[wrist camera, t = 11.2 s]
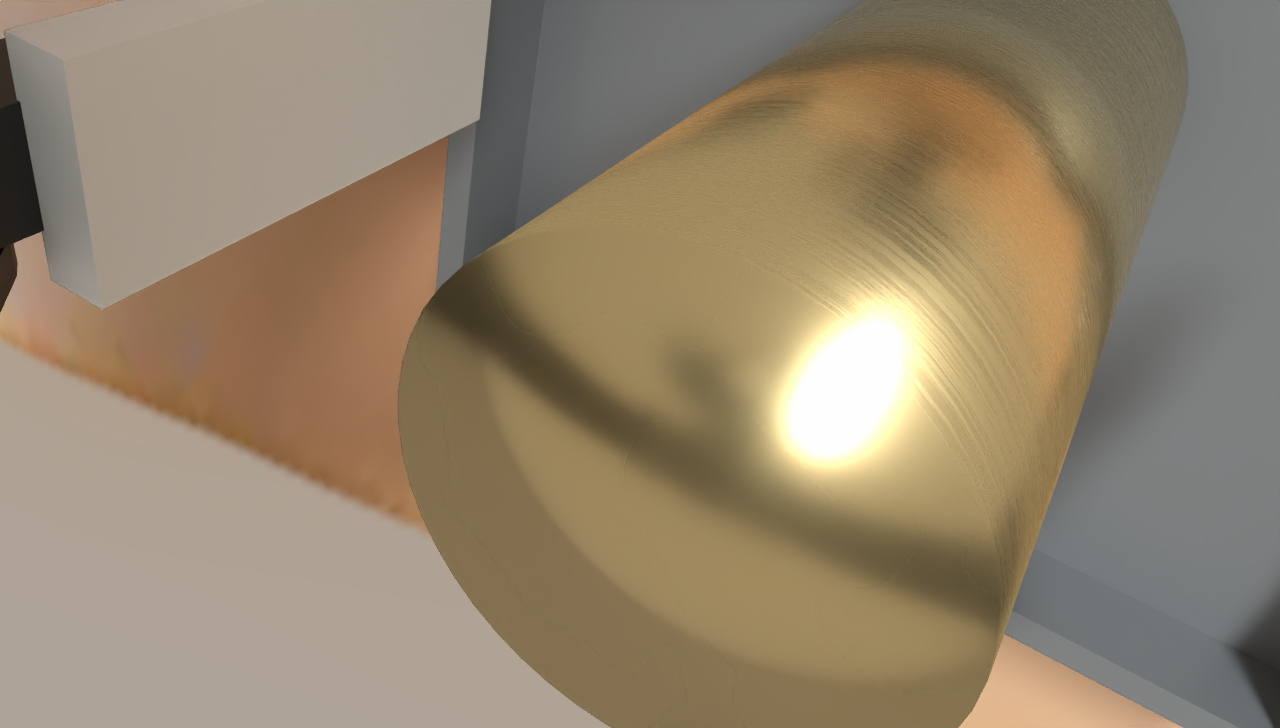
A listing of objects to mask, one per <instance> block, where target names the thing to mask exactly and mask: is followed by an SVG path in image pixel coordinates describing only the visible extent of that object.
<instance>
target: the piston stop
mask: <svg viewBox="0 0 1280 728" xmlns="http://www.w3.org/2000/svg"><path fill="white" fill-rule="evenodd" d="M1187 93H1188V62H1187V55H1186V48H1185V43H1184V40H1183V36H1182V33H1181V30H1180V27H1179V23H1178V21H1177V19H1176V17H1175V15H1174V13H1173V11H1172V9H1171V7H1170V5H1169V2H1168V1H1167V0H864V1H862V2H861V3H859V4H858V5H856V6H855V7H853V8H852V9H850V10H849V11H847V12H846V13H844V14H843V15H841V16H840V17H838V18H837V19H835V20H834V21H832V22H831V23H829V24H828V25H826V26H825V27H823V28H822V29H820V30H819V31H817V32H816V33H814V34H813V35H811V36H810V37H808V38H807V39H805V40H804V41H802V42H800V43H799V44H797V45H796V46H794V47H793V48H791V49H790V50H788V51H787V52H785V53H784V54H782V55H781V56H779V57H778V58H776V59H775V60H773V61H772V62H770V63H769V64H767V65H766V66H764V67H763V68H761V69H760V70H758V71H757V72H755V73H754V74H752V75H751V76H749V77H748V78H746V79H745V80H743V81H742V82H740V83H738V84H737V85H735V86H734V87H732V88H731V89H729V90H728V91H726V92H725V93H723V94H722V95H720V96H719V97H717V98H716V99H714V100H713V101H711V102H710V103H708V104H707V105H705V106H704V107H702V108H701V109H699V110H698V111H696V112H695V113H693V114H692V115H690V116H689V117H687V118H686V119H684V120H683V121H681V122H680V123H678V124H677V125H675V126H673V127H672V128H670V129H669V130H667V131H666V132H664V133H663V134H661V135H660V136H658V137H657V138H655V139H654V140H652V141H651V142H649V143H648V144H646V145H645V146H643V147H642V148H640V149H639V150H637V151H636V152H634V153H633V154H631V155H630V156H628V157H627V158H625V159H624V160H622V161H621V162H619V163H618V164H616V165H615V166H613V167H612V168H610V169H608V170H607V171H605V172H604V173H602V174H601V175H599V176H598V177H596V178H595V179H593V180H592V181H590V182H589V183H587V184H586V185H584V186H583V187H581V188H580V189H578V190H577V191H575V192H574V193H572V194H571V195H569V196H568V197H566V198H565V199H563V200H562V201H560V202H559V203H557V204H556V205H554V206H553V207H551V208H550V209H548V210H546V211H545V212H543V213H542V214H540V215H539V216H537V217H536V218H534V219H533V220H531V221H530V222H528V223H527V224H525V225H524V226H522V227H521V228H519V229H518V230H516V231H515V232H513V233H512V234H510V235H509V236H507V237H506V238H504V239H503V240H501V241H500V242H498V243H497V244H495V245H494V246H492V247H491V248H489V249H488V250H486V251H485V252H483V253H481V254H480V255H478V256H477V257H475V258H474V259H472V260H471V261H469V262H468V263H466V264H465V265H463V266H462V267H461V268H460V269H459V270H458V271H457V272H456V273H455V274H453V275H452V276H451V277H450V278H449V279H448V280H447V281H446V282H445V283H444V284H442V285H441V286H440V288H439V289H438V290H437V292H436V293H435V294H434V296H433V297H432V298H431V300H430V301H429V302H428V304H427V305H426V306H425V308H424V309H423V311H422V313H421V315H420V317H419V319H418V321H417V323H416V325H415V327H414V329H413V331H412V333H411V335H410V338H409V341H408V345H407V348H406V352H405V355H404V358H403V362H402V367H401V375H400V382H399V390H398V424H399V432H400V439H401V446H402V454H403V458H404V462H405V466H406V470H407V474H408V477H409V481H410V485H411V488H412V491H413V494H414V496H415V499H416V502H417V504H418V507H419V510H420V513H421V515H422V518H423V520H424V522H425V524H426V526H427V528H428V530H429V532H430V534H431V537H432V539H433V541H434V543H435V545H436V547H437V549H438V550H439V552H440V554H441V555H442V557H443V559H444V561H445V562H446V564H447V566H448V567H449V569H450V571H451V572H452V574H453V576H454V577H455V579H456V580H457V581H458V583H459V584H460V586H461V587H462V589H463V590H464V591H465V593H466V594H467V596H468V597H469V599H470V600H471V601H472V603H473V604H474V606H475V607H476V608H477V609H478V610H479V612H480V613H481V614H482V615H483V617H485V619H486V620H487V621H488V623H489V624H490V625H491V626H492V627H493V629H494V630H495V631H496V632H497V633H498V634H499V635H500V636H501V637H502V639H503V640H505V642H506V643H507V644H508V645H509V646H510V647H511V648H512V649H513V650H514V651H515V652H516V653H517V654H518V655H519V656H520V657H521V658H522V659H523V660H524V661H525V662H526V663H527V664H528V665H529V666H531V667H532V668H533V669H534V670H535V671H536V672H537V673H538V674H539V675H541V676H542V677H543V678H544V679H545V680H546V681H547V682H548V683H550V684H551V685H552V686H553V687H555V688H556V689H557V690H558V691H560V692H561V693H562V694H564V695H565V696H566V697H567V698H569V699H570V700H571V701H572V702H574V703H575V704H576V705H578V706H579V707H581V708H582V709H584V710H585V711H587V712H588V713H590V714H591V715H593V716H594V717H596V718H597V719H599V720H600V721H602V722H603V723H605V724H606V725H608V726H610V727H611V728H958V727H959V726H960V725H961V724H962V722H963V721H964V720H965V719H966V717H967V716H968V715H969V714H970V712H971V711H972V710H973V708H974V706H975V704H976V702H977V700H978V698H979V696H980V694H981V692H982V690H983V688H984V687H985V685H986V683H987V681H988V678H989V675H990V672H991V669H992V667H993V664H994V661H995V658H996V655H997V652H998V649H999V646H1000V644H1001V641H1002V638H1003V635H1004V632H1005V629H1006V626H1007V623H1008V621H1009V618H1010V615H1011V612H1012V609H1013V606H1014V603H1015V600H1016V598H1017V595H1018V592H1019V589H1020V586H1021V583H1022V580H1023V577H1024V575H1025V572H1026V569H1027V566H1028V563H1029V560H1030V557H1031V554H1032V552H1033V549H1034V546H1035V543H1036V540H1037V537H1038V534H1039V531H1040V529H1041V526H1042V523H1043V520H1044V517H1045V514H1046V511H1047V508H1048V506H1049V503H1050V500H1051V497H1052V494H1053V491H1054V488H1055V485H1056V483H1057V480H1058V477H1059V474H1060V471H1061V468H1062V465H1063V462H1064V460H1065V457H1066V454H1067V451H1068V448H1069V445H1070V442H1071V439H1072V436H1073V434H1074V431H1075V428H1076V425H1077V422H1078V419H1079V416H1080V413H1081V411H1082V408H1083V405H1084V402H1085V399H1086V396H1087V393H1088V390H1089V388H1090V385H1091V382H1092V379H1093V376H1094V373H1095V370H1096V367H1097V365H1098V362H1099V359H1100V356H1101V353H1102V350H1103V347H1104V344H1105V342H1106V339H1107V336H1108V333H1109V330H1110V327H1111V324H1112V321H1113V319H1114V316H1115V313H1116V310H1117V307H1118V304H1119V301H1120V298H1121V296H1122V293H1123V290H1124V287H1125V284H1126V281H1127V278H1128V275H1129V273H1130V270H1131V267H1132V264H1133V261H1134V258H1135V255H1136V252H1137V250H1138V247H1139V244H1140V241H1141V238H1142V235H1143V232H1144V229H1145V227H1146V224H1147V221H1148V218H1149V215H1150V212H1151V209H1152V206H1153V204H1154V201H1155V198H1156V195H1157V192H1158V189H1159V186H1160V183H1161V181H1162V178H1163V175H1164V172H1165V169H1166V166H1167V163H1168V160H1169V158H1170V155H1171V152H1172V149H1173V146H1174V143H1175V140H1176V137H1177V135H1178V132H1179V128H1180V125H1181V122H1182V118H1183V115H1184V112H1185V106H1186V100H1187Z"/></svg>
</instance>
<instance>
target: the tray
mask: <svg viewBox="0 0 1280 728" xmlns="http://www.w3.org/2000/svg"><path fill="white" fill-rule="evenodd" d="M862 1H864V0H491V8H490V19H489V29H488V39H487V49H486V59H485V69H484V79H483V89H482V99H481V109H480V119H479V120H478V121H476V122H474V123H472V124H470V125H468V126H466V127H464V128H462V129H460V130H458V131H456V132H454V133H452V134H450V135H449V140H448V152H447V165H446V177H445V190H444V202H443V214H442V227H441V239H440V251H439V264H438V276H437V288H436V292H437V290H438V289H439V288H440V286H441V285H442V284H444V283H445V282H446V281H447V280H448V279H449V278H450V277H451V276H452V275H453V274H455V273H456V272H457V271H458V270H459V269H460V268H461V267H462V266H463V265H465V264H466V263H468V262H469V261H471V260H472V259H474V258H475V257H477V256H478V255H480V254H481V253H483V252H485V251H486V250H488V249H489V248H491V247H492V246H494V245H495V244H497V243H498V242H500V241H501V240H503V239H504V238H506V237H507V236H509V235H510V234H512V233H513V232H515V231H516V230H518V229H519V228H521V227H522V226H524V225H525V224H527V223H528V222H530V221H531V220H533V219H534V218H536V217H537V216H539V215H540V214H542V213H543V212H545V211H546V210H548V209H550V208H551V207H553V206H554V205H556V204H557V203H559V202H560V201H562V200H563V199H565V198H566V197H568V196H569V195H571V194H572V193H574V192H575V191H577V190H578V189H580V188H581V187H583V186H584V185H586V184H587V183H589V182H590V181H592V180H593V179H595V178H596V177H598V176H599V175H601V174H602V173H604V172H605V171H607V170H608V169H610V168H612V167H613V166H615V165H616V164H618V163H619V162H621V161H622V160H624V159H625V158H627V157H628V156H630V155H631V154H633V153H634V152H636V151H637V150H639V149H640V148H642V147H643V146H645V145H646V144H648V143H649V142H651V141H652V140H654V139H655V138H657V137H658V136H660V135H661V134H663V133H664V132H666V131H667V130H669V129H670V128H672V127H673V126H675V125H677V124H678V123H680V122H681V121H683V120H684V119H686V118H687V117H689V116H690V115H692V114H693V113H695V112H696V111H698V110H699V109H701V108H702V107H704V106H705V105H707V104H708V103H710V102H711V101H713V100H714V99H716V98H717V97H719V96H720V95H722V94H723V93H725V92H726V91H728V90H729V89H731V88H732V87H734V86H735V85H737V84H738V83H740V82H742V81H743V80H745V79H746V78H748V77H749V76H751V75H752V74H754V73H755V72H757V71H758V70H760V69H761V68H763V67H764V66H766V65H767V64H769V63H770V62H772V61H773V60H775V59H776V58H778V57H779V56H781V55H782V54H784V53H785V52H787V51H788V50H790V49H791V48H793V47H794V46H796V45H797V44H799V43H800V42H802V41H804V40H805V39H807V38H808V37H810V36H811V35H813V34H814V33H816V32H817V31H819V30H820V29H822V28H823V27H825V26H826V25H828V24H829V23H831V22H832V21H834V20H835V19H837V18H838V17H840V16H841V15H843V14H844V13H846V12H847V11H849V10H850V9H852V8H853V7H855V6H856V5H858V4H859V3H861V2H862ZM1167 1H1168V2H1169V5H1170V7H1171V9H1172V11H1173V13H1174V15H1175V17H1176V19H1177V21H1178V23H1179V27H1180V30H1181V33H1182V36H1183V40H1184V43H1185V48H1186V55H1187V62H1188V93H1187V100H1186V106H1185V112H1184V115H1183V118H1182V122H1181V125H1180V128H1179V132H1178V135H1177V137H1176V140H1175V143H1174V146H1173V149H1172V152H1171V155H1170V158H1169V160H1168V163H1167V166H1166V169H1165V172H1164V175H1163V178H1162V181H1161V183H1160V186H1159V189H1158V192H1157V195H1156V198H1155V201H1154V204H1153V206H1152V209H1151V212H1150V215H1149V218H1148V221H1147V224H1146V227H1145V229H1144V232H1143V235H1142V238H1141V241H1140V244H1139V247H1138V250H1137V252H1136V255H1135V258H1134V261H1133V264H1132V267H1131V270H1130V273H1129V275H1128V278H1127V281H1126V284H1125V287H1124V290H1123V293H1122V296H1121V298H1120V301H1119V304H1118V307H1117V310H1116V313H1115V316H1114V319H1113V321H1112V324H1111V327H1110V330H1109V333H1108V336H1107V339H1106V342H1105V344H1104V347H1103V350H1102V353H1101V356H1100V359H1099V362H1098V365H1097V367H1096V370H1095V373H1094V376H1093V379H1092V382H1091V385H1090V388H1089V390H1088V393H1087V396H1086V399H1085V402H1084V405H1083V408H1082V411H1081V413H1080V416H1079V419H1078V422H1077V425H1076V428H1075V431H1074V434H1073V436H1072V439H1071V442H1070V445H1069V448H1068V451H1067V454H1066V457H1065V460H1064V462H1063V465H1062V468H1061V471H1060V474H1059V477H1058V480H1057V483H1056V485H1055V488H1054V491H1053V494H1052V497H1051V500H1050V503H1049V506H1048V508H1047V511H1046V514H1045V517H1044V520H1043V523H1042V526H1041V529H1040V531H1039V534H1038V537H1037V540H1036V543H1035V546H1034V549H1033V552H1032V554H1031V557H1030V560H1029V563H1028V566H1027V569H1026V572H1025V575H1024V577H1023V580H1022V583H1021V586H1020V589H1019V592H1018V595H1017V598H1016V600H1015V603H1014V606H1013V609H1012V612H1011V615H1010V618H1009V621H1008V623H1007V626H1006V629H1005V632H1004V634H1006V635H1008V636H1010V637H1012V638H1014V639H1016V640H1017V641H1019V642H1021V643H1023V644H1025V645H1027V646H1029V647H1031V648H1033V649H1035V650H1037V651H1038V652H1040V653H1042V654H1044V655H1046V656H1048V657H1050V658H1052V659H1054V660H1056V661H1057V662H1059V663H1061V664H1063V665H1065V666H1067V667H1069V668H1071V669H1073V670H1075V671H1077V672H1078V673H1080V674H1082V675H1084V676H1086V677H1088V678H1090V679H1092V680H1094V681H1096V682H1098V683H1099V684H1101V685H1103V686H1105V687H1107V688H1109V689H1111V690H1113V691H1115V692H1117V693H1119V694H1120V695H1122V696H1124V697H1126V698H1128V699H1130V700H1132V701H1134V702H1136V703H1138V704H1140V705H1141V706H1143V707H1145V708H1147V709H1149V710H1151V711H1153V712H1155V713H1157V714H1159V715H1160V716H1162V717H1164V718H1166V719H1168V720H1170V721H1172V722H1174V723H1176V724H1178V725H1180V726H1181V727H1183V728H1280V0H1167Z"/></svg>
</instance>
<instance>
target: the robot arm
mask: <svg viewBox="0 0 1280 728" xmlns="http://www.w3.org/2000/svg"><path fill="white" fill-rule="evenodd" d="M490 8H491V0H120V1H116V2H113V3H109V4H105V5H101V6H97V7H93V8H89V9H85V10H81V11H77V12H74V13H70V14H66V15H62V16H58V17H54V18H50V19H46V20H42V21H38V22H34V23H31V24H27V25H23V26H19V27H15V28H11V29H7V30H4V34H5V38H4V39H0V312H1V310H2V308H3V306H4V303H5V301H6V299H7V297H8V294H9V292H10V290H11V288H12V285H13V283H14V281H15V279H16V276H17V258H16V253H15V249H14V244H13V243H15V242H17V241H20V240H22V239H24V238H27V237H29V236H32V235H34V234H36V233H39V232H41V231H42V235H43V241H44V246H45V251H46V256H47V262H48V267H49V272H50V278H51V280H52V281H54V282H55V283H57V284H59V285H61V286H62V287H64V288H66V289H68V290H69V291H71V292H73V293H74V294H76V295H78V296H80V297H81V298H83V299H85V300H86V301H88V302H90V303H92V304H93V305H95V306H97V307H99V308H100V309H104V308H106V307H108V306H110V305H112V304H114V303H116V302H118V301H120V300H122V299H124V298H126V297H128V296H130V295H132V294H134V293H136V292H138V291H140V290H142V289H144V288H146V287H148V286H150V285H152V284H154V283H156V282H158V281H160V280H162V279H164V278H166V277H168V276H170V275H172V274H174V273H176V272H178V271H180V270H182V269H184V268H186V267H188V266H190V265H192V264H194V263H196V262H198V261H200V260H202V259H204V258H206V257H208V256H210V255H212V254H214V253H216V252H218V251H220V250H222V249H223V248H225V247H227V246H229V245H231V244H233V243H235V242H237V241H239V240H241V239H243V238H245V237H247V236H249V235H251V234H253V233H255V232H257V231H259V230H261V229H263V228H265V227H267V226H269V225H271V224H273V223H275V222H277V221H279V220H281V219H283V218H285V217H287V216H289V215H291V214H293V213H295V212H297V211H299V210H301V209H303V208H305V207H307V206H309V205H311V204H313V203H315V202H317V201H319V200H321V199H323V198H325V197H327V196H329V195H331V194H333V193H335V192H337V191H339V190H341V189H343V188H345V187H347V186H349V185H351V184H352V183H354V182H356V181H358V180H360V179H362V178H364V177H366V176H368V175H370V174H372V173H374V172H376V171H378V170H380V169H382V168H384V167H386V166H388V165H390V164H392V163H394V162H396V161H398V160H400V159H402V158H404V157H406V156H408V155H410V154H412V153H414V152H416V151H418V150H420V149H422V148H424V147H426V146H428V145H430V144H432V143H434V142H436V141H438V140H440V139H442V138H444V137H446V136H448V135H450V134H452V133H454V132H456V131H458V130H460V129H462V128H464V127H466V126H468V125H470V124H472V123H474V122H476V121H478V120H479V119H480V109H481V99H482V89H483V79H484V69H485V59H486V49H487V39H488V29H489V19H490Z"/></svg>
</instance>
